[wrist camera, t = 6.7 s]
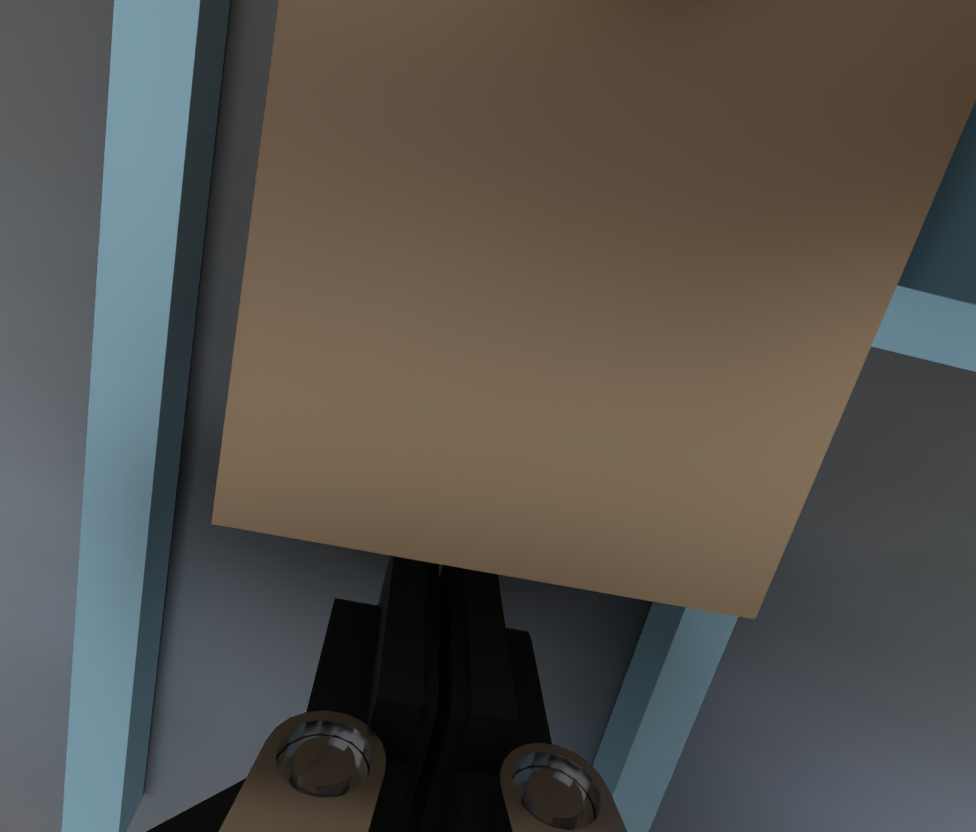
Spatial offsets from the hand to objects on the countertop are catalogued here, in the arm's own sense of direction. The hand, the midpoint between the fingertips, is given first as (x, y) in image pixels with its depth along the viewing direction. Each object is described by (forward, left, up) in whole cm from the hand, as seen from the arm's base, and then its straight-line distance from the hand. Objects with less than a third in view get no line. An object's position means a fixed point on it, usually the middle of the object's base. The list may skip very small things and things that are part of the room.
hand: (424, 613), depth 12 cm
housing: (+7, 0, -2) cm, 7 cm away
